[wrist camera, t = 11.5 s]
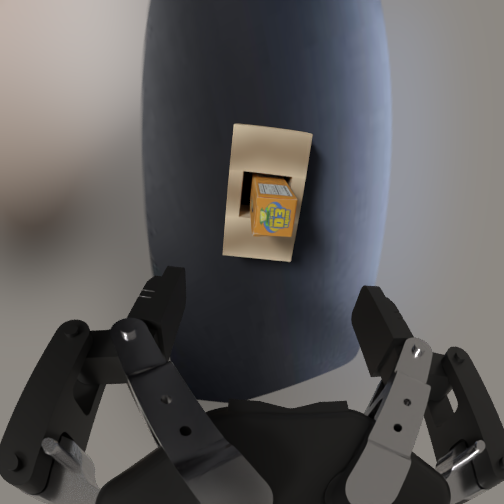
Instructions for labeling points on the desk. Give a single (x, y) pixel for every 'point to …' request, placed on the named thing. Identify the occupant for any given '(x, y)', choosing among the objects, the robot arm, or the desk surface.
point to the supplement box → (271, 206)
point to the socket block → (269, 162)
